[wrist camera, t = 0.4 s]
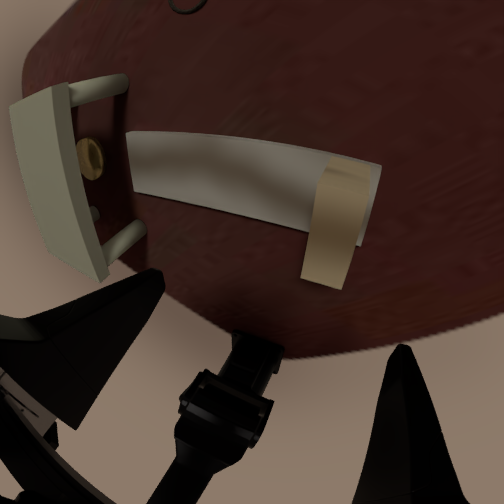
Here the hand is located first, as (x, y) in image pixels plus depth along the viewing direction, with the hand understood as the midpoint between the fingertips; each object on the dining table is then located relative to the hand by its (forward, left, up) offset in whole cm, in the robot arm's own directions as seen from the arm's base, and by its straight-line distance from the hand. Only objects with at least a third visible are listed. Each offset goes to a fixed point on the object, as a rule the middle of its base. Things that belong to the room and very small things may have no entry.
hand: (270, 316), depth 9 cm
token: (-1, +25, -12) cm, 28 cm away
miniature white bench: (-1, +23, -12) cm, 26 cm away
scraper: (-1, +7, -12) cm, 14 cm away
